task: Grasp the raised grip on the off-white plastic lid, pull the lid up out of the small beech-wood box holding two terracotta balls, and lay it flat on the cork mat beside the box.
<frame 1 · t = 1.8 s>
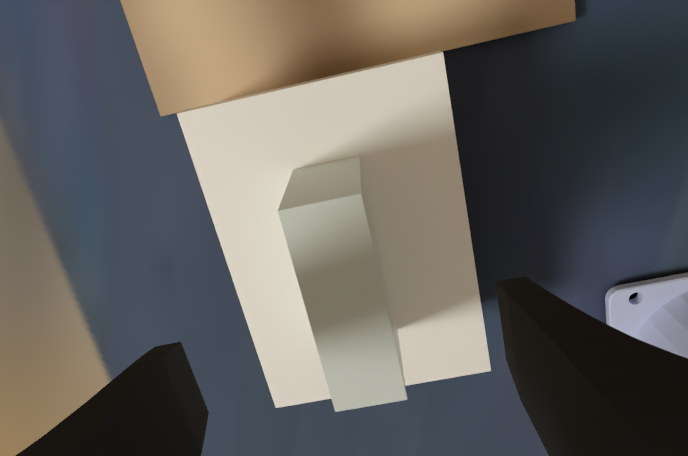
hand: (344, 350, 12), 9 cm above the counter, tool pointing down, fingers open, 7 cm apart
lid: (348, 246, 18), point 3 cm above the counter, touching box
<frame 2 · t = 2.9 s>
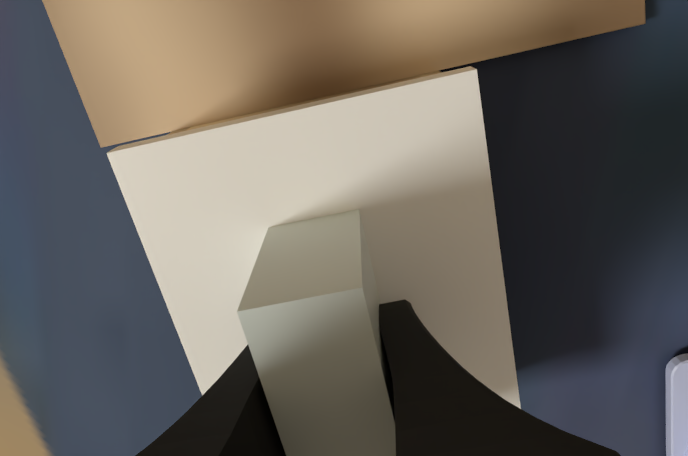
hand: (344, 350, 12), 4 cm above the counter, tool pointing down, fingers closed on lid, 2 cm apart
lid: (344, 321, 13), point 3 cm above the counter, touching box, gripper
box: (345, 267, 16), on the counter
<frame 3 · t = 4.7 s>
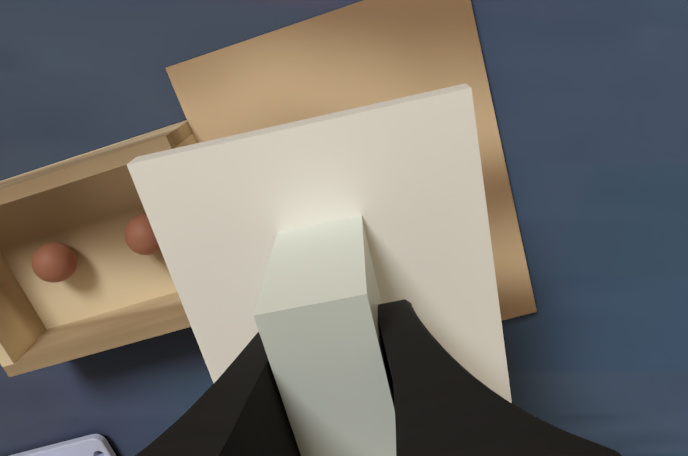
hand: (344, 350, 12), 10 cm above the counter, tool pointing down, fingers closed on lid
lid: (347, 318, 14), point 8 cm above the counter, touching gripper
box: (113, 235, 23), on the counter
mat: (366, 196, 22), on the counter
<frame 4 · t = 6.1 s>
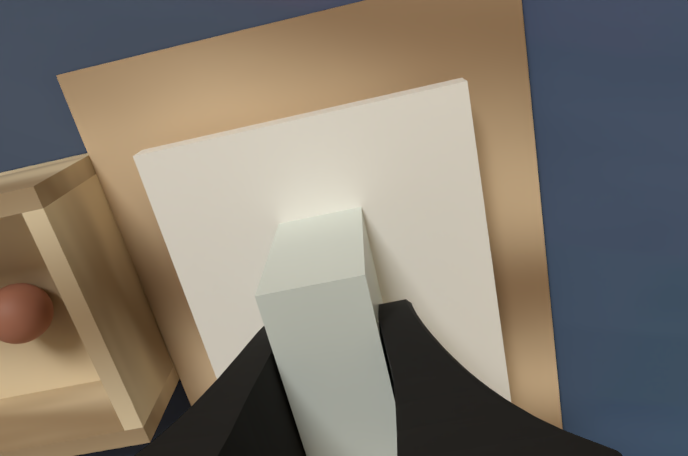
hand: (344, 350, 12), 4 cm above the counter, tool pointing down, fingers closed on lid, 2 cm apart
lid: (347, 310, 14), point 1 cm above the counter, touching gripper, mat
mat: (344, 278, 15), on the counter
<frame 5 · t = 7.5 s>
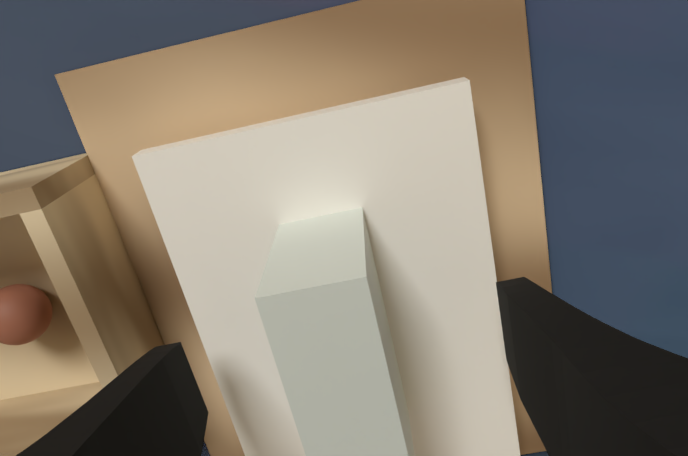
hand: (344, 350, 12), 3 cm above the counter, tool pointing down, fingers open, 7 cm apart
lid: (348, 312, 14), point 1 cm above the counter, touching mat
mat: (345, 279, 15), on the counter
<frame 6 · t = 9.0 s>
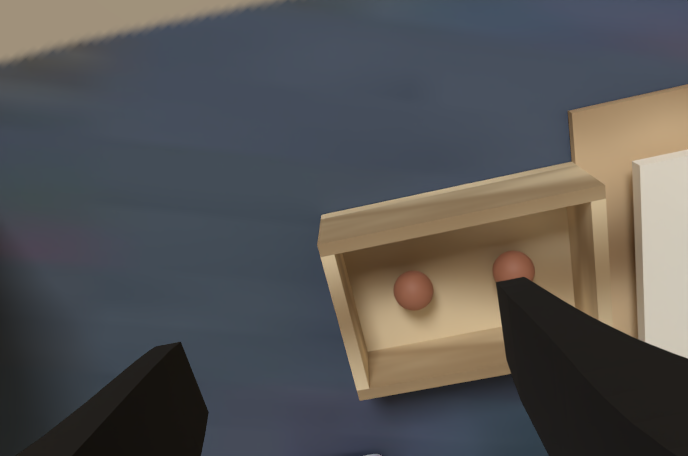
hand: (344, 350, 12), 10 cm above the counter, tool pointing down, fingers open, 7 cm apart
box: (457, 266, 23), on the counter
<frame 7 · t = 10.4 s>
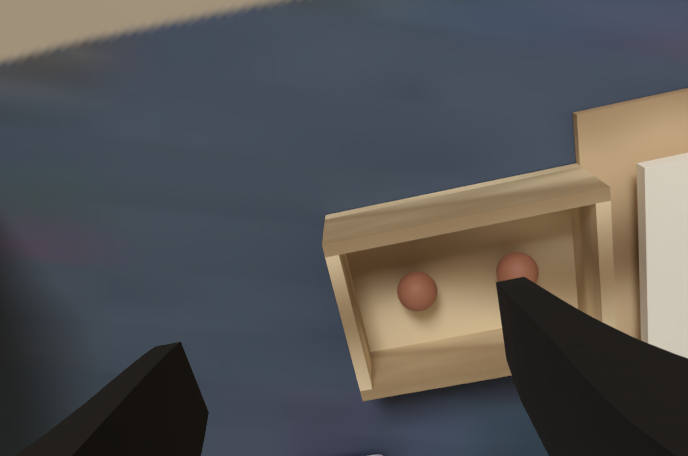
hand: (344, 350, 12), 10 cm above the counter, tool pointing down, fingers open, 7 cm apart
box: (460, 267, 23), on the counter
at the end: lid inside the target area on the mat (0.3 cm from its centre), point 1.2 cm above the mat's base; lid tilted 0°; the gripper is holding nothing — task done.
